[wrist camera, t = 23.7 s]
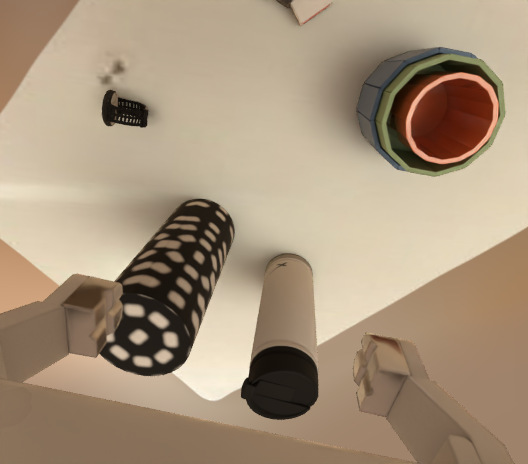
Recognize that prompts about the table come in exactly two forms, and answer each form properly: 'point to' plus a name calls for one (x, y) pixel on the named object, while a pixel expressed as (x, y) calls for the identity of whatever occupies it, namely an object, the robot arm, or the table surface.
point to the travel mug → (284, 343)
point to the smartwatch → (122, 111)
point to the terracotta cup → (444, 115)
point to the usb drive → (306, 8)
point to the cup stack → (392, 80)
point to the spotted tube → (170, 290)
